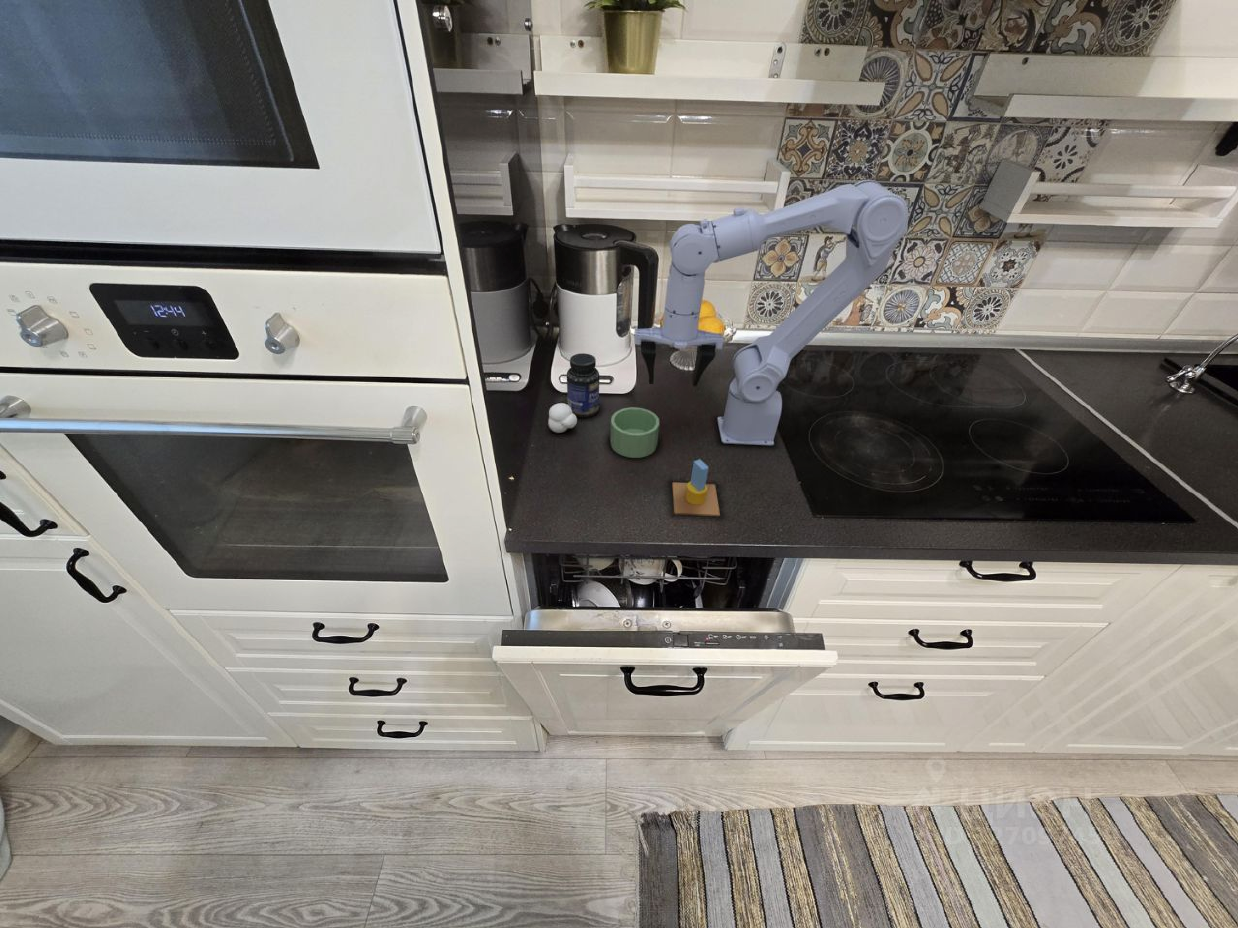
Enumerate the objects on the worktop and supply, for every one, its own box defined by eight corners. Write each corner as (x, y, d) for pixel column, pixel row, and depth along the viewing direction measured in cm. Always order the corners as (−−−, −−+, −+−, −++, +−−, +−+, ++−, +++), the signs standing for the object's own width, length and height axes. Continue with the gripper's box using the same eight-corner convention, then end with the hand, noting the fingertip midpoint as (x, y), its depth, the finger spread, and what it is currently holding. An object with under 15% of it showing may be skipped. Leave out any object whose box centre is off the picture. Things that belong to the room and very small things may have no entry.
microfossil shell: (553, 421, 97) (551, 396, 93) (580, 425, 96) (580, 400, 93) (546, 435, 93) (544, 410, 90) (574, 439, 93) (574, 413, 89)
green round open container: (656, 430, 96) (658, 408, 92) (657, 459, 89) (659, 436, 86) (611, 428, 96) (612, 406, 93) (609, 456, 89) (610, 433, 86)
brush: (697, 488, 83) (703, 455, 79) (709, 500, 81) (716, 467, 77) (681, 495, 82) (686, 461, 77) (693, 507, 80) (699, 473, 75)
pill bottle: (594, 420, 98) (594, 369, 90) (563, 416, 98) (561, 365, 91) (602, 403, 102) (602, 353, 95) (572, 399, 103) (571, 349, 96)
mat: (714, 486, 84) (715, 484, 84) (719, 516, 79) (719, 514, 79) (672, 484, 84) (672, 482, 84) (674, 514, 79) (674, 512, 79)
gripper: (637, 316, 78) (631, 392, 87) (731, 321, 78) (716, 396, 87) (637, 298, 84) (631, 371, 92) (725, 302, 84) (711, 375, 93)
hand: (672, 382), depth 90 cm, fingers open, 7 cm apart
